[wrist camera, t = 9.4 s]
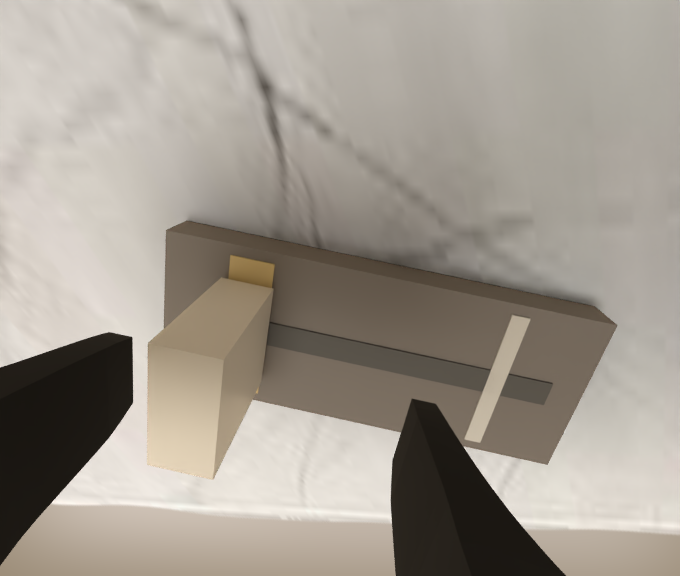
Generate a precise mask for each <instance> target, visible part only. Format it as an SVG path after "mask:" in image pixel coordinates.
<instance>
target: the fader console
mask: <svg viewBox="0 0 680 576" xmlns="http://www.w3.org/2000/svg"><path fill="white" fill-rule="evenodd" d="M221 277H222V278H226V279H231V280H236V281H240V282H245V283H250V284H254V285H259V286H264V287H268V288H273V289H274V290H273V298H272V305H271V313H270V320H269V328H268V335H267V343H266V350H265V358H264V365H263V372H262V380H261V383H260V385H259V387H258V389H257V391H256V393H255V395H254V397H253V400H257V401H262V402H266V403H271V404H275V405H280V406H284V407H289V408H293V409H298V410H302V411H307V412H311V413H316V414H321V415H325V416H330V417H334V418H339V419H343V420H348V421H352V422H357V423H361V424H366V425H370V426H375V427H379V428H384V429H388V430H393V431H397V432H402V428H403V425H404V422H405V419H406V416H407V412H408V409H409V406H410V403H411V399H417V400H421V401H426V402H430V403H435V404H437V406H438V408H439V409H440V411H441V412H442V414H443V416H444V417H445V419H446V420H447V422H448V424H449V425H450V427H451V428H452V430H453V431H454V433H455V435H456V436H457V438H458V439H459V441H460V443H461V444H462V446H465V447H470V448H474V449H479V450H483V451H488V452H492V453H497V454H501V455H506V456H510V457H515V458H519V459H524V460H528V461H533V462H538V463H542V464H547V465H548V463H549V461H550V459H551V457H552V455H553V453H554V451H555V449H556V447H557V445H558V443H559V441H560V439H561V437H562V435H563V433H564V431H565V429H566V427H567V425H568V423H569V421H570V419H571V417H572V415H573V413H574V411H575V409H576V407H577V405H578V403H579V401H580V399H581V397H582V395H583V393H584V391H585V389H586V387H587V385H588V383H589V381H590V379H591V377H592V375H593V373H594V371H595V369H596V367H597V365H598V363H599V361H600V359H601V357H602V355H603V353H604V351H605V349H606V347H607V345H608V343H609V341H610V339H611V337H612V335H613V333H614V331H615V329H616V327H617V325H616V324H615V323H614V322H613V321H612V320H610V319H609V318H608V317H607V316H606V315H604V314H603V313H602V312H601V311H600V310H598V309H597V308H596V307H595V306H590V305H585V304H580V303H576V302H571V301H566V300H561V299H557V298H552V297H547V296H542V295H538V294H533V293H528V292H523V291H519V290H514V289H509V288H504V287H500V286H495V285H490V284H485V283H480V282H476V281H471V280H466V279H461V278H457V277H452V276H447V275H442V274H438V273H433V272H428V271H423V270H419V269H414V268H409V267H404V266H400V265H395V264H390V263H385V262H380V261H376V260H371V259H366V258H361V257H357V256H352V255H347V254H342V253H338V252H333V251H328V250H323V249H319V248H314V247H309V246H304V245H300V244H295V243H290V242H285V241H281V240H276V239H271V238H266V237H261V236H257V235H252V234H247V233H242V232H238V231H233V230H228V229H223V228H219V227H214V226H209V225H204V224H200V223H195V222H190V221H185V222H183V223H181V224H179V225H176V226H174V227H172V228H170V229H168V230H166V258H165V301H164V328H165V327H167V326H168V325H169V324H170V323H171V322H172V321H173V320H174V319H175V318H177V317H178V316H179V315H180V314H181V313H182V312H183V311H184V310H185V309H187V308H188V307H189V306H190V305H191V304H192V303H193V302H194V301H195V300H197V299H198V298H199V297H200V296H201V295H202V294H203V293H204V292H205V291H207V290H208V289H209V288H210V287H211V286H212V285H213V284H214V283H215V282H217V281H218V280H219V279H220V278H221Z"/></svg>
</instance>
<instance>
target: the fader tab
mask: <svg viewBox="0 0 680 576" xmlns="http://www.w3.org/2000/svg"><path fill="white" fill-rule="evenodd" d="M273 290H274V289H273V288H268V287H264V286H259V285H254V284H250V283H245V282H240V281H236V280H231V279H226V278H222V277H221V278H220V279H219V280H218V281H217V282H215V283H214V284H213V285H212V286H211V287H210V288H209V289H208V290H207V291H205V292H204V293H203V294H202V295H201V296H200V297H199V298H198V299H197V300H195V301H194V302H193V303H192V304H191V305H190V306H189V307H188V308H187V309H185V310H184V311H183V312H182V313H181V314H180V315H179V316H178V317H177V318H175V319H174V320H173V321H172V322H171V323H170V324H169V325H168V326H167V327H165V328H164V329H163V330H162V331H161V332H160V333H159V334H158V335H157V336H155V337H154V338H153V339H152V340H151V341H150V342H149V343H148V412H147V465H150V466H155V467H159V468H163V469H168V470H172V471H177V472H181V473H185V474H190V475H194V476H199V477H203V478H207V479H212V480H213V479H214V477H215V475H216V473H217V471H218V469H219V467H220V465H221V463H222V461H223V459H224V457H225V454H226V452H227V450H228V448H229V446H230V444H231V442H232V440H233V438H234V436H235V434H236V432H237V430H238V428H239V426H240V424H241V422H242V420H243V418H244V416H245V414H246V412H247V410H248V408H249V406H250V404H251V401H252V399H253V397H254V395H255V393H256V391H257V389H258V387H259V385H260V383H261V380H262V372H263V365H264V358H265V350H266V343H267V335H268V328H269V320H270V313H271V305H272V298H273Z"/></svg>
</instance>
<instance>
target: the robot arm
mask: <svg viewBox="0 0 680 576" xmlns="http://www.w3.org/2000/svg"><path fill="white" fill-rule="evenodd" d="M132 403H133V352H132V337H129V336H124V335H120V334H115V333H111V332H108V333H104V334H101V335H97V336H94V337H90V338H87V339H84V340H81V341H78V342H75V343H72V344H69V345H66V346H63V347H60V348H57V349H55V350H52V351H49V352H46V353H43V354H40V355H37V356H34V357H31V358H28V359H25V360H22V361H19V362H16V363H13V364H10V365H7V366H4V367H1V368H0V565H1V564H2V562H3V561H4V560H5V558H6V557H7V556H8V554H9V553H10V552H11V550H12V549H13V548H14V546H15V545H16V544H17V542H18V541H19V540H20V539H21V537H22V536H23V535H24V534H25V533H26V531H27V530H28V529H29V528H30V527H31V525H32V524H33V523H34V522H35V521H36V519H37V518H38V517H39V516H40V515H41V513H43V511H44V510H45V509H46V508H47V507H48V506H49V505H50V504H51V503H52V501H53V500H54V499H55V498H56V497H57V496H58V495H59V494H60V492H61V491H62V490H63V489H64V488H65V487H66V486H67V485H68V484H69V482H70V481H71V480H72V479H73V478H74V477H75V476H76V475H77V473H78V472H79V471H80V470H81V469H82V468H83V467H84V466H85V465H86V463H87V462H88V461H89V460H90V459H91V458H92V457H93V455H94V454H95V453H96V452H97V451H98V450H99V449H100V447H101V446H102V445H103V444H104V443H105V442H106V441H107V439H108V438H109V437H110V436H111V434H112V433H113V431H114V430H115V429H116V427H117V426H118V424H119V423H120V422H121V420H122V419H123V417H124V415H125V414H126V412H127V411H128V409H129V408H130V406H131V405H132ZM391 513H392V527H393V543H394V557H395V571H396V576H566V575H565V574H564V573H563V572H562V571H561V570H560V569H559V568H558V567H557V566H556V565H555V564H554V563H553V561H552V560H551V559H550V558H549V557H548V556H547V555H546V554H545V552H544V551H543V550H542V549H541V548H540V547H539V546H538V545H537V543H536V542H535V541H534V540H533V539H532V538H531V536H530V535H529V534H528V533H527V532H526V531H525V529H524V528H523V527H522V526H521V525H520V524H519V522H518V521H517V520H516V519H515V517H514V516H513V515H512V514H511V512H510V511H509V510H508V509H507V507H506V506H505V505H504V503H503V502H502V501H501V499H500V498H499V497H498V495H497V494H496V493H495V492H494V490H493V489H492V488H491V486H490V485H489V484H488V482H487V481H486V479H485V478H484V477H483V475H482V474H481V472H480V471H479V469H478V468H477V467H476V465H475V464H474V462H473V461H472V459H471V458H470V456H469V455H468V453H467V452H466V450H465V449H464V447H463V446H462V444H461V443H460V441H459V439H458V438H457V436H456V435H455V433H454V431H453V430H452V428H451V427H450V425H449V424H448V422H447V420H446V419H445V417H444V416H443V414H442V412H441V411H440V409H439V408H438V406H437V404H435V403H430V402H426V401H421V400H417V399H411V403H410V406H409V409H408V412H407V416H406V419H405V422H404V425H403V428H402V432H401V435H400V438H399V441H398V445H397V448H396V451H395V454H394V458H393V462H392V481H391Z"/></svg>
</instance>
